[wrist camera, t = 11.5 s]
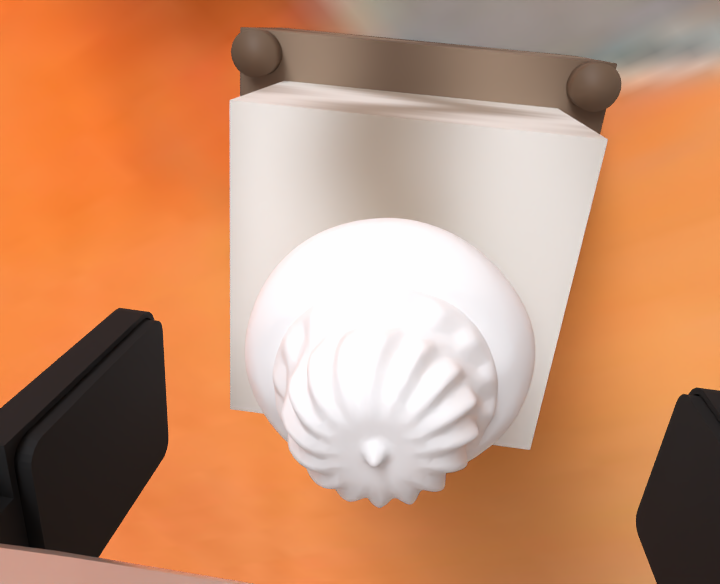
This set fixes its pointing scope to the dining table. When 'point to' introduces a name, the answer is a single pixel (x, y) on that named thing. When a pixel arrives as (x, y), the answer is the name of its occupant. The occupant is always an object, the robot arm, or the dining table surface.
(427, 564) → the dining table surface
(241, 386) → the knobbed square box
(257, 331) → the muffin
